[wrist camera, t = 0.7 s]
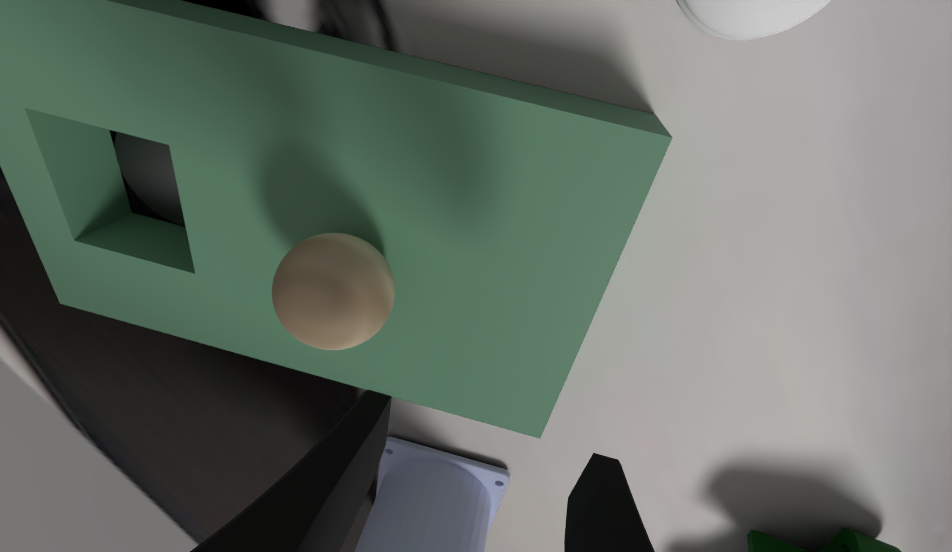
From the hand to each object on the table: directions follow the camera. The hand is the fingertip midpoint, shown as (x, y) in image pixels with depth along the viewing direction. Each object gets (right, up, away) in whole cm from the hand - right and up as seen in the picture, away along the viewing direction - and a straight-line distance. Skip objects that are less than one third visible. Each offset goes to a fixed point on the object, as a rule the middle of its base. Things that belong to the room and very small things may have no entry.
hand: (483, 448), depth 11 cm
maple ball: (-5, +4, +4) cm, 7 cm away
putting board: (-7, +7, +8) cm, 13 cm away
